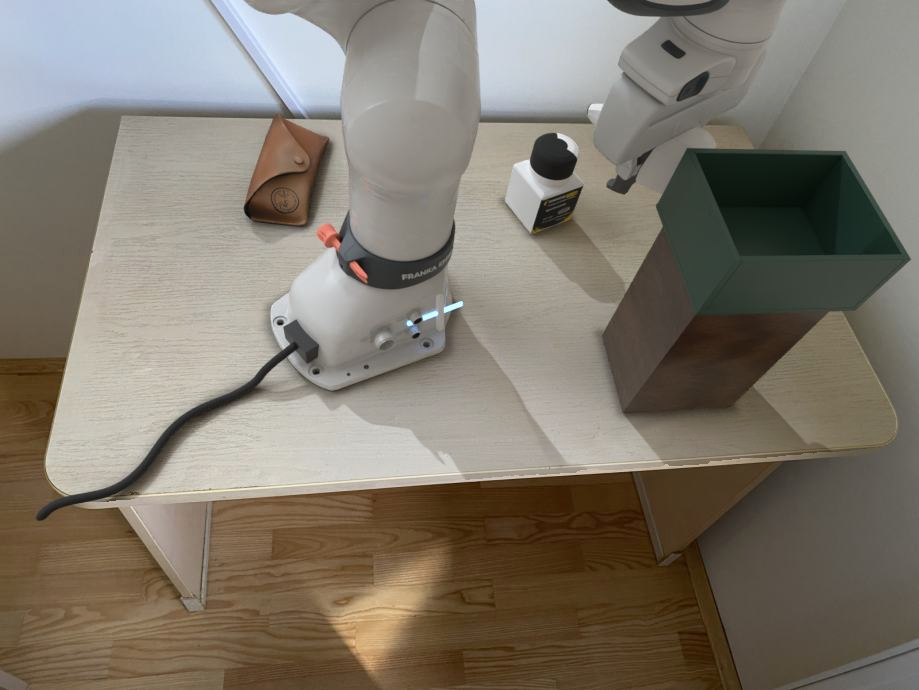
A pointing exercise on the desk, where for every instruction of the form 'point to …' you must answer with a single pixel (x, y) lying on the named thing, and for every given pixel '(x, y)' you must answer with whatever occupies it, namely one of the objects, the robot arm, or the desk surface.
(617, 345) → the stand
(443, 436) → the desk surface
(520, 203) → the medicine bottle
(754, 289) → the bin
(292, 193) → the sunglasses case
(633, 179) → the giant panda
